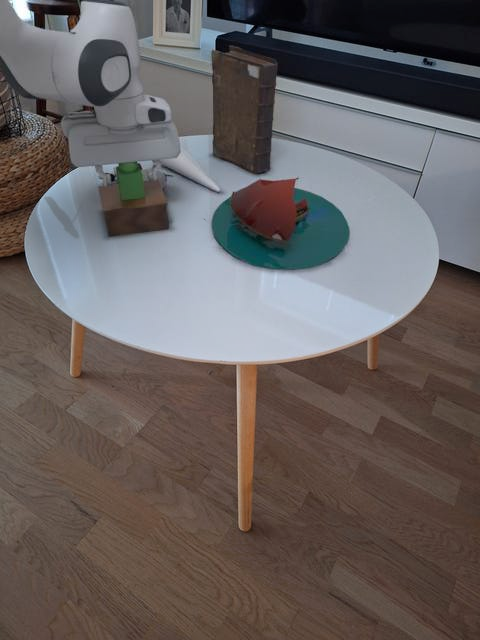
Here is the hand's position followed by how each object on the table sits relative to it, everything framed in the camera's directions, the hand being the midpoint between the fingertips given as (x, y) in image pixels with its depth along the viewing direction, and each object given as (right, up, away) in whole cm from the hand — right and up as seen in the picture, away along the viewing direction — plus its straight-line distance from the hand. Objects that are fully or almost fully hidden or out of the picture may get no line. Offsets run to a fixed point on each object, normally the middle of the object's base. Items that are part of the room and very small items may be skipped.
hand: (130, 182), depth 91 cm
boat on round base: (+30, -9, +5) cm, 31 cm away
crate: (0, -6, +6) cm, 8 cm away
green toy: (0, -2, +2) cm, 2 cm away
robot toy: (-2, +3, +16) cm, 17 cm away
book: (+22, +13, +28) cm, 38 cm away
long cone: (+9, +7, +21) cm, 24 cm away
